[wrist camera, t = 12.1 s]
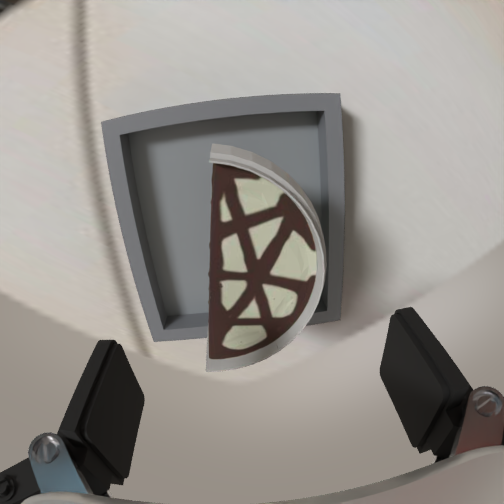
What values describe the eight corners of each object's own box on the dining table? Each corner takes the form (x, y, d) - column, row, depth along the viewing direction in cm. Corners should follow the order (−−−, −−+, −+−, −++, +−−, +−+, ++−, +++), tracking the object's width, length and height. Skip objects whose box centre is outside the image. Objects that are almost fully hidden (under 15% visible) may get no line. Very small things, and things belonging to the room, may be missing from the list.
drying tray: (326, 95, 21) (340, 93, 18) (330, 301, 29) (340, 320, 26) (115, 120, 21) (101, 121, 18) (159, 321, 28) (154, 341, 25)
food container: (284, 291, 27) (311, 377, 17) (210, 289, 26) (205, 378, 17) (303, 141, 22) (357, 161, 13) (217, 135, 21) (209, 147, 12)
